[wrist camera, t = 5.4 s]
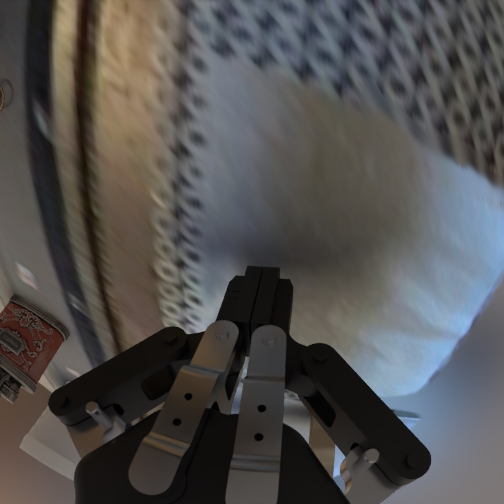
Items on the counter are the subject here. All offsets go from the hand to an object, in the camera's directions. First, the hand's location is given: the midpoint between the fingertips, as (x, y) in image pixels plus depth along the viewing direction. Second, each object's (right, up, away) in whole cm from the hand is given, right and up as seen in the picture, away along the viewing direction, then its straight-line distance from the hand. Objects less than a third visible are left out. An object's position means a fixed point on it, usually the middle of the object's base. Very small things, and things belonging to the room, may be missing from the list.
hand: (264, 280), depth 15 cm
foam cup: (-24, -19, +21) cm, 37 cm away
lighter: (-22, -5, +10) cm, 25 cm away
